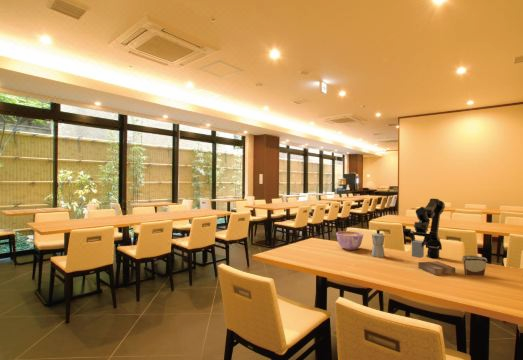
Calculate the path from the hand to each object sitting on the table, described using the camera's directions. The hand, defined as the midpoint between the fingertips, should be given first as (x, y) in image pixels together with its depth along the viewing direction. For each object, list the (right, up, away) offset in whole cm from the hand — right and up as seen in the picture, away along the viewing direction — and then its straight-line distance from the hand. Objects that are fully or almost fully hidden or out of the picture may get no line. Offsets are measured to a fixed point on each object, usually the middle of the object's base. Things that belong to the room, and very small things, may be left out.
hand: (417, 245), depth 173 cm
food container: (+26, -14, -10) cm, 31 cm away
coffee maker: (-12, -13, +28) cm, 33 cm away
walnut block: (+8, -14, -5) cm, 17 cm away
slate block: (+1, -7, +1) cm, 7 cm away
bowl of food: (-26, -13, +47) cm, 56 cm away
